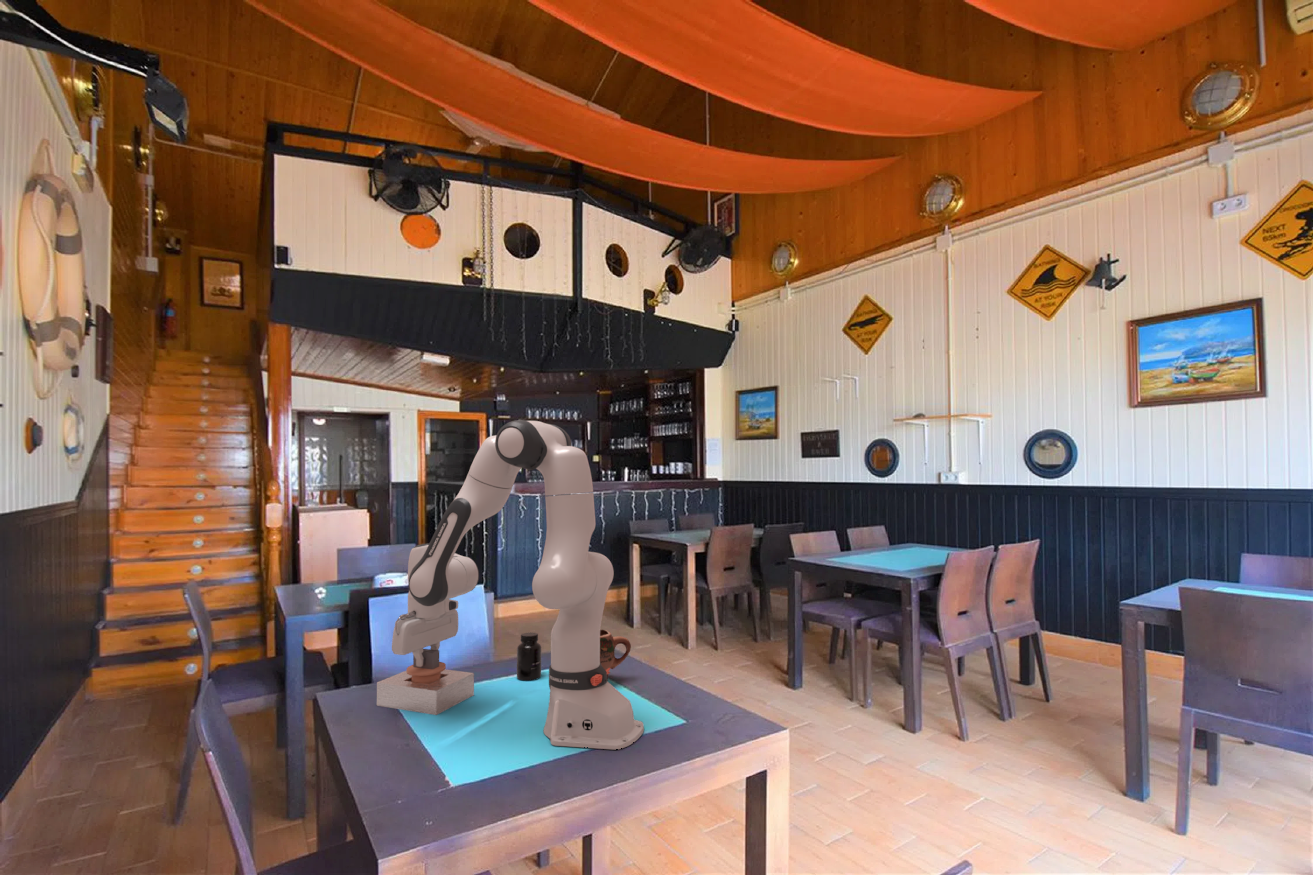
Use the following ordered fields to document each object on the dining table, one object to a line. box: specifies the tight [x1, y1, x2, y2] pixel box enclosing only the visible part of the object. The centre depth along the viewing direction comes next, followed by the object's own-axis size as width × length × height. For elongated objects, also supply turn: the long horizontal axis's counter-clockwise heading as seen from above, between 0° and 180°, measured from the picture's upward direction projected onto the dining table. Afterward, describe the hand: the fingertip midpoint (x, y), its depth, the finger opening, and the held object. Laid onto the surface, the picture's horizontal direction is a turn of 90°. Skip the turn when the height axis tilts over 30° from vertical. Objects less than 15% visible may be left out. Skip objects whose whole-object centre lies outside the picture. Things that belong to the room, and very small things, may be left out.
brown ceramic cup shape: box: [600, 628, 632, 682], centre depth 176 cm, size 20×12×14 cm, turn 113°
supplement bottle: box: [516, 632, 542, 681], centre depth 181 cm, size 7×7×12 cm
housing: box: [376, 669, 475, 716], centre depth 159 cm, size 18×14×7 cm
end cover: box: [406, 648, 447, 684], centre depth 160 cm, size 9×9×10 cm
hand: (426, 663), depth 160 cm, fingers closed on end cover, 2 cm apart
